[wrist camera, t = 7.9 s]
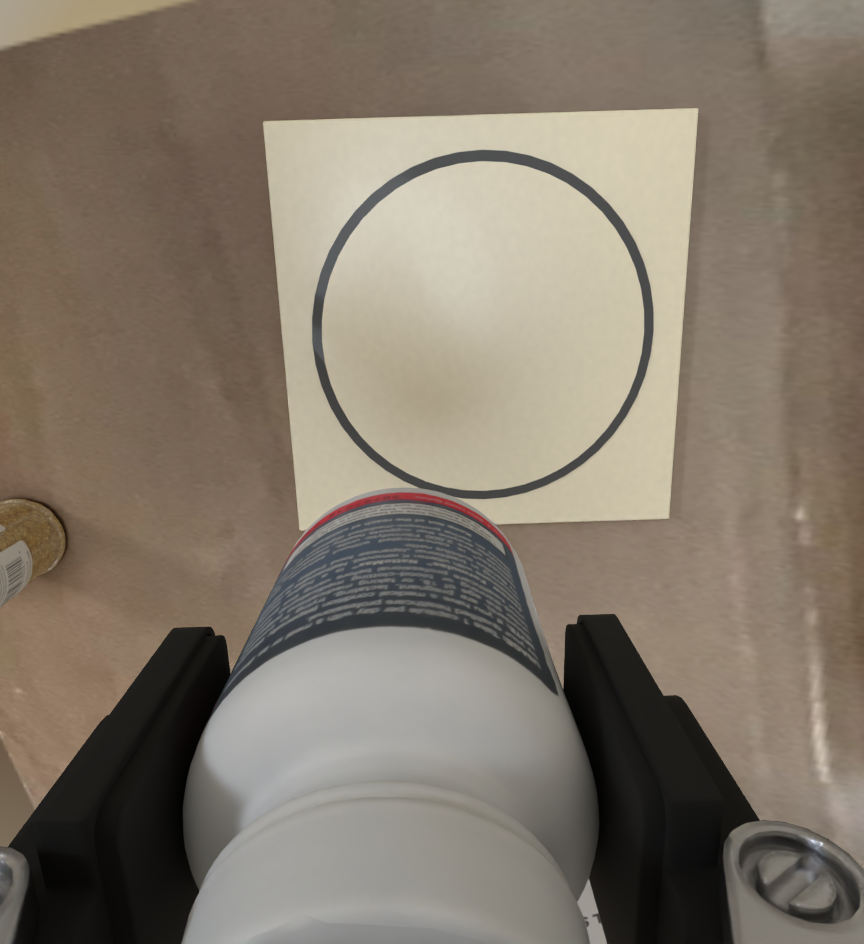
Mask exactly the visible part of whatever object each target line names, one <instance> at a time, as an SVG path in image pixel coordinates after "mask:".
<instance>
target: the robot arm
mask: <svg viewBox="0 0 864 944" xmlns="http://www.w3.org/2000/svg"><path fill="white" fill-rule="evenodd" d="M229 677H230V667H229V659H228V651H227V644H226V640H225V637H224V636H223V635H219V636H215V633H214V631H213V629H212V628H211V627H186V628H174V629H172V630H171V631H170V633H169V634H168V636H167V637H166V638H165V640H164V641H163V642H162V644H161V645H160V646H159V648H158V649H157V651H156V652H155V653H154V655H153V656H152V657H151V659H150V660H149V661H148V663H147V664H146V666H145V667H144V668H143V670H142V671H141V672H140V674H139V675H138V676H137V678H136V679H135V681H134V682H133V683H132V685H131V686H130V687H129V689H128V690H127V692H126V693H125V694H124V696H123V697H122V698H121V700H120V701H119V702H118V704H117V705H116V707H115V708H114V709H113V711H112V712H111V713H110V715H107V716H106V717H105V718H104V719H103V720H102V721H101V722H100V723H99V725H98V726H97V727H96V729H95V730H94V731H93V733H92V734H91V735H90V737H89V738H88V739H87V741H86V742H85V743H84V745H83V746H82V747H81V749H80V750H79V752H78V753H77V754H76V756H75V757H74V758H73V760H72V761H71V762H70V764H69V765H68V766H67V768H66V769H65V770H64V772H63V773H62V774H61V776H60V777H59V779H58V780H57V781H56V783H55V784H54V785H53V787H52V788H51V789H50V791H49V792H48V793H47V795H46V796H45V797H44V799H43V800H42V801H41V803H40V804H39V806H38V807H37V808H36V810H35V811H34V812H33V814H32V815H31V817H30V818H29V819H28V821H27V822H26V823H25V824H24V826H23V827H22V829H21V830H20V831H19V833H18V834H17V835H16V837H15V838H14V839H13V841H12V842H11V843H10V845H9V846H8V847H0V944H181V942H182V939H183V935H184V931H185V928H186V925H187V921H188V916H189V914H190V911H191V909H192V906H193V904H194V902H195V899H196V897H197V895H198V894H199V892H200V891H199V889H198V887H197V885H196V883H195V880H194V878H193V875H192V873H191V869H190V866H189V862H188V858H187V854H186V850H185V844H184V836H183V812H182V811H183V800H184V794H185V787H186V781H187V776H188V772H189V769H190V765H191V762H192V759H193V757H194V754H195V751H196V748H197V745H198V743H199V740H200V737H201V735H202V732H203V730H204V727H205V725H206V722H207V721H208V719H209V717H210V715H211V713H212V711H213V709H214V706H215V704H216V702H217V700H218V698H219V696H220V694H221V692H222V690H223V689H224V687H225V685H226V683H227V681H228V679H229ZM564 693H565V696H566V698H567V701H568V704H569V706H570V709H571V711H572V714H573V717H574V719H575V722H576V725H577V727H578V730H579V733H580V735H581V738H582V741H583V743H584V746H585V749H586V752H587V755H588V758H589V761H590V765H591V768H592V771H593V774H594V779H595V784H596V789H597V796H598V806H599V820H600V824H599V838H598V843H597V848H596V853H595V858H594V862H593V865H592V868H591V872H590V875H589V881H590V885H591V888H592V892H593V895H594V899H595V902H596V906H597V910H598V913H599V917H600V920H601V924H602V927H603V931H604V935H605V938H606V942H607V944H864V869H863V868H862V867H861V866H860V865H859V864H858V863H857V862H856V861H855V860H854V859H853V858H852V857H851V856H850V855H849V854H848V853H847V852H845V851H844V850H843V849H841V848H840V847H838V846H837V845H836V844H834V843H833V842H832V841H830V840H829V839H827V838H825V837H823V836H821V835H819V834H817V833H815V832H812V831H810V830H808V829H806V828H803V827H800V826H796V825H793V824H789V823H786V822H779V821H767V820H761V821H760V820H759V818H758V817H757V815H756V814H755V812H754V810H753V809H752V807H751V806H750V804H749V803H748V801H747V799H746V798H745V796H744V795H743V793H742V791H741V790H740V788H739V787H738V785H737V784H736V782H735V780H734V779H733V777H732V776H731V774H730V772H729V771H728V769H727V768H726V766H725V765H724V763H723V761H722V760H721V758H720V757H719V755H718V753H717V752H716V750H715V749H714V747H713V746H712V744H711V742H710V741H709V739H708V738H707V736H706V734H705V733H704V731H703V730H702V728H701V727H700V725H699V723H698V722H697V720H696V719H695V717H694V715H693V714H692V712H691V711H690V709H689V708H688V706H687V704H686V703H685V702H684V701H683V699H682V698H681V697H679V696H676V695H673V696H663V694H662V693H661V691H660V689H659V688H658V686H657V684H656V682H655V681H654V679H653V677H652V676H651V674H650V672H649V671H648V669H647V667H646V665H645V664H644V662H643V660H642V659H641V657H640V655H639V653H638V652H637V650H636V648H635V647H634V645H633V643H632V642H631V640H630V638H629V636H628V635H627V633H626V631H625V630H624V628H623V626H622V625H621V623H620V621H619V619H618V618H617V616H616V615H615V614H600V615H579V617H578V620H577V624H569V625H567V626H566V632H565V660H564Z"/></svg>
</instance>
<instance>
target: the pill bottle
mask: <svg viewBox="0 0 864 944" xmlns="http://www.w3.org/2000/svg"><path fill="white" fill-rule="evenodd" d="M182 812H183V836H184V844H185V850H186V854H187V858H188V862H189V866H190V869H191V873H192V875H193V878H194V880H195V883H196V885H197V887H198V889H199V891H200V892H199V894H198V895H197V897H196V899H195V902H194V904H193V906H192V909H191V911H190V914H189V916H188V921H187V925H186V928H185V931H184V935H183V939H182V942H181V944H590V941H589V936H588V932H587V928H586V924H585V920H584V917H583V915H582V913H581V910H580V908H579V906H578V904H577V902H578V900H579V898H580V896H581V894H582V892H583V890H584V888H585V886H586V883H587V881H588V878H589V875H590V872H591V868H592V865H593V862H594V858H595V853H596V848H597V843H598V838H599V824H600V820H599V806H598V796H597V789H596V784H595V779H594V774H593V771H592V768H591V765H590V761H589V758H588V755H587V752H586V749H585V746H584V743H583V741H582V738H581V735H580V733H579V730H578V727H577V725H576V722H575V719H574V717H573V714H572V711H571V709H570V706H569V704H568V701H567V698H566V696H565V693H564V691H563V688H562V685H561V683H560V680H559V677H558V675H557V672H556V669H555V666H554V663H553V661H552V658H551V655H550V652H549V649H548V646H547V643H546V640H545V637H544V634H543V631H542V628H541V624H540V621H539V618H538V615H537V612H536V609H535V605H534V602H533V598H532V595H531V592H530V588H529V585H528V582H527V578H526V575H525V572H524V569H523V566H522V564H521V562H520V560H519V558H518V555H517V553H516V552H515V550H514V548H513V547H512V545H511V544H510V542H509V540H508V539H507V538H506V536H505V535H504V534H503V533H502V531H501V530H500V529H499V528H498V527H497V526H496V525H495V524H494V523H493V522H492V521H491V520H490V519H489V518H488V517H486V516H485V515H484V514H483V513H481V512H480V511H479V510H477V509H476V508H474V507H472V506H471V505H469V504H468V503H466V502H463V501H461V500H459V499H457V498H455V497H453V496H450V495H447V494H444V493H440V492H437V491H432V490H427V489H420V488H409V487H406V488H389V489H382V490H376V491H371V492H367V493H364V494H361V495H358V496H355V497H353V498H350V499H348V500H346V501H344V502H342V503H340V504H338V505H336V506H335V507H333V508H332V509H330V510H329V511H327V512H326V513H325V514H323V515H322V516H321V517H320V518H318V519H317V520H316V521H315V522H314V523H313V524H312V525H311V526H310V527H309V528H308V529H307V530H306V531H305V532H304V534H303V535H302V536H301V537H300V539H299V540H298V541H297V543H296V544H295V546H294V548H293V549H292V551H291V553H290V555H289V557H288V559H287V560H286V562H285V564H284V566H283V568H282V570H281V572H280V574H279V577H278V579H277V581H276V583H275V585H274V587H273V589H272V591H271V593H270V595H269V597H268V599H267V601H266V603H265V605H264V607H263V609H262V611H261V613H260V615H259V617H258V620H257V622H256V624H255V626H254V628H253V629H252V631H251V633H250V635H249V638H248V640H247V642H246V644H245V646H244V648H243V650H242V652H241V654H240V656H239V658H238V660H237V662H236V664H235V666H234V668H233V670H232V672H231V674H230V677H229V679H228V681H227V683H226V685H225V687H224V689H223V690H222V692H221V694H220V696H219V698H218V700H217V702H216V704H215V706H214V709H213V711H212V713H211V715H210V717H209V719H208V721H207V722H206V725H205V727H204V730H203V732H202V735H201V737H200V740H199V743H198V745H197V748H196V751H195V754H194V757H193V759H192V762H191V765H190V769H189V772H188V776H187V781H186V787H185V794H184V800H183V811H182Z"/></svg>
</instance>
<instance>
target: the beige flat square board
mask: <svg viewBox="0 0 864 944" xmlns="http://www.w3.org/2000/svg"><path fill="white" fill-rule="evenodd" d="M697 121H698V108H684V109H650V110H617V111H583V112H550V113H516V114H483V115H449V116H416V117H383V118H349V119H316V120H282V121H263V129H264V140H265V151H266V162H267V173H268V184H269V196H270V207H271V218H272V229H273V240H274V251H275V262H276V273H277V285H278V296H279V307H280V318H281V329H282V340H283V351H284V362H285V374H286V385H287V396H288V407H289V418H290V429H291V440H292V451H293V463H294V474H295V485H296V496H297V507H298V518H299V529H300V531H306V530H307V529H308V528H309V527H310V526H311V525H312V524H313V523H314V522H315V521H316V520H317V519H318V518H320V517H321V516H322V515H323V514H325V513H326V512H327V511H329V510H330V509H332V508H333V507H335V506H336V505H338V504H340V503H342V502H344V501H346V500H348V499H350V498H353V497H355V496H358V495H361V494H364V493H367V492H371V491H376V490H382V489H389V488H406V487H409V488H420V489H427V490H432V491H437V492H440V493H444V494H447V495H450V496H453V497H455V498H457V499H459V500H461V501H463V502H466V503H468V504H469V505H471V506H472V507H474V508H476V509H477V510H479V511H480V512H481V513H483V514H484V515H485V516H486V517H488V518H489V519H490V520H491V521H492V522H493V523H494V524H522V523H553V522H584V521H614V520H645V519H669V510H670V496H671V482H672V469H673V455H674V441H675V427H676V413H677V399H678V385H679V371H680V358H681V344H682V330H683V316H684V302H685V288H686V274H687V260H688V246H689V233H690V219H691V205H692V191H693V177H694V163H695V149H696V135H697Z"/></svg>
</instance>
